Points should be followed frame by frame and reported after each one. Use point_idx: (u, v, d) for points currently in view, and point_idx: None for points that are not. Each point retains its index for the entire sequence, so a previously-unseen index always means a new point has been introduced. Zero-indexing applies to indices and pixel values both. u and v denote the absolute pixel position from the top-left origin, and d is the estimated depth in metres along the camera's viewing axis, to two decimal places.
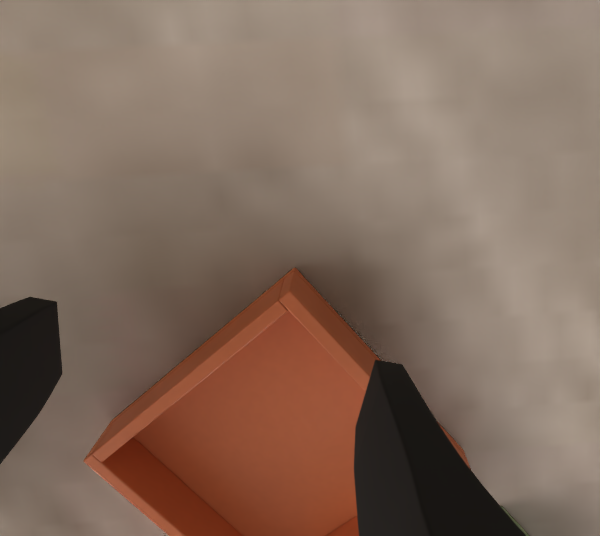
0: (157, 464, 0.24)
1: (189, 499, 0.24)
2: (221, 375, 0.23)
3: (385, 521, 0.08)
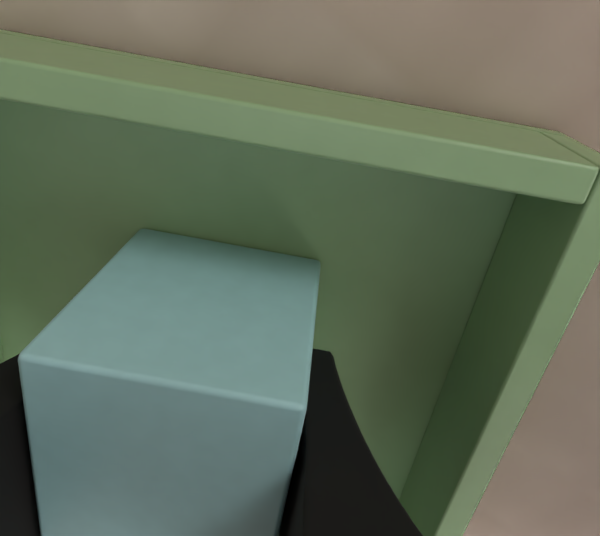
0: None
1: None
2: None
3: (291, 504, 0.08)
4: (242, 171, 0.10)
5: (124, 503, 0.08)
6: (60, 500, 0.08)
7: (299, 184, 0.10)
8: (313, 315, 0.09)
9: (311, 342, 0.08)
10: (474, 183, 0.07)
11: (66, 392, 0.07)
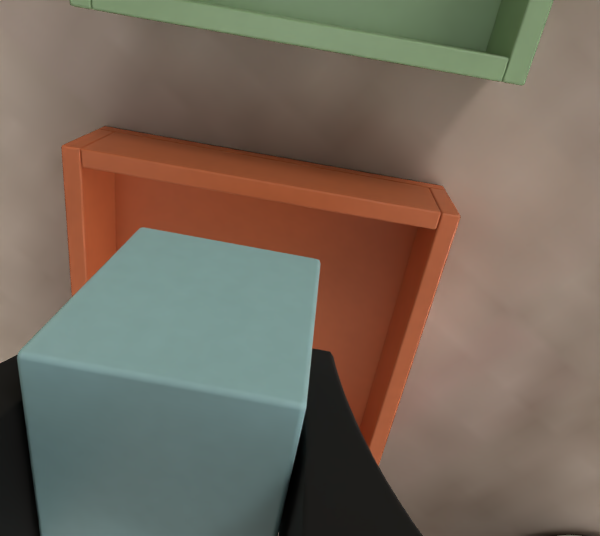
0: (370, 395, 0.21)
1: (383, 357, 0.19)
2: None
3: (291, 504, 0.08)
4: None
5: (123, 502, 0.08)
6: (59, 498, 0.08)
7: None
8: (313, 314, 0.09)
9: (311, 341, 0.08)
10: None
11: (65, 390, 0.07)
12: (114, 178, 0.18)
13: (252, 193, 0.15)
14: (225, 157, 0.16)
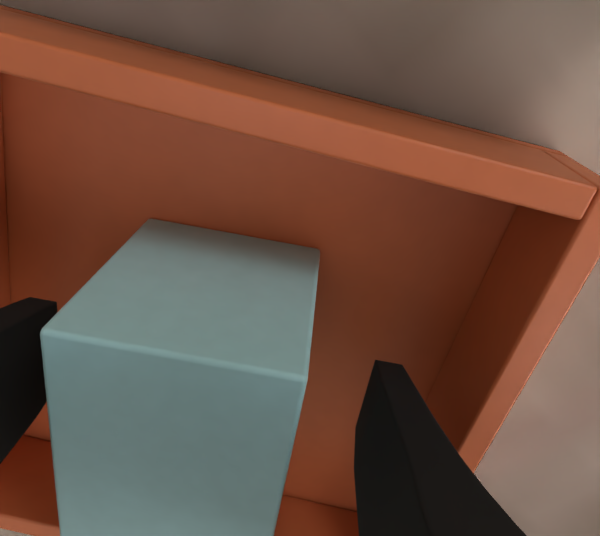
0: None
1: None
2: None
3: (385, 521, 0.08)
4: None
5: (137, 472, 0.08)
6: (76, 470, 0.08)
7: None
8: (313, 298, 0.09)
9: (311, 322, 0.08)
10: None
11: (84, 365, 0.07)
12: (0, 96, 0.10)
13: (238, 124, 0.08)
14: (193, 64, 0.09)
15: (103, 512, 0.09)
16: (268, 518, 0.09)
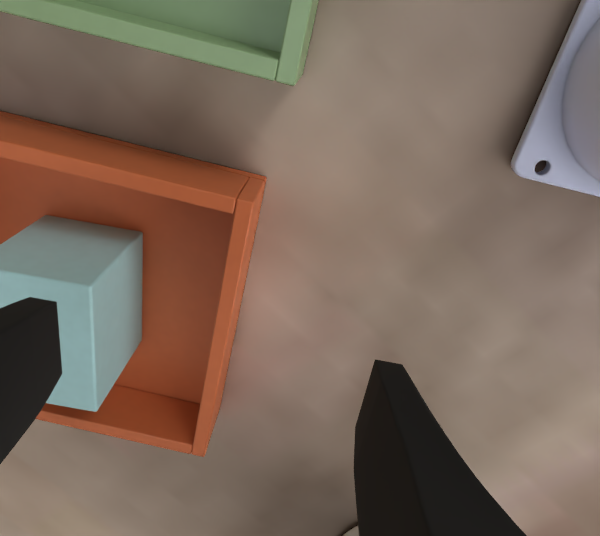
0: None
1: None
2: None
3: (385, 521, 0.08)
4: None
5: None
6: None
7: None
8: (119, 255, 0.18)
9: (110, 265, 0.17)
10: None
11: None
12: None
13: (64, 169, 0.16)
14: (53, 135, 0.17)
15: None
16: (90, 365, 0.17)
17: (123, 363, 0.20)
